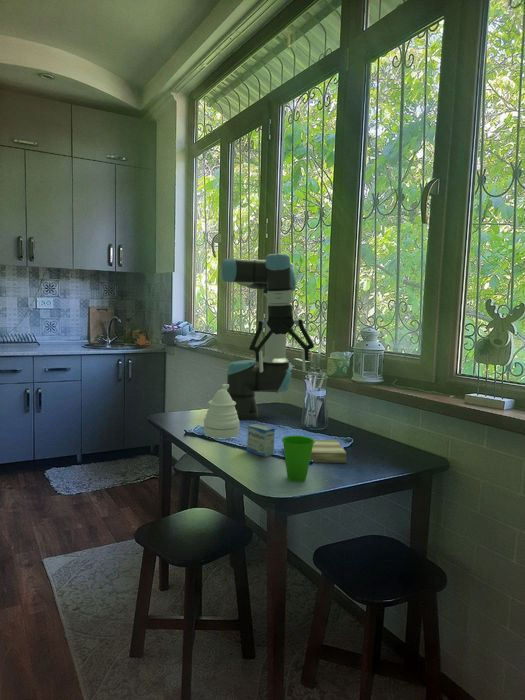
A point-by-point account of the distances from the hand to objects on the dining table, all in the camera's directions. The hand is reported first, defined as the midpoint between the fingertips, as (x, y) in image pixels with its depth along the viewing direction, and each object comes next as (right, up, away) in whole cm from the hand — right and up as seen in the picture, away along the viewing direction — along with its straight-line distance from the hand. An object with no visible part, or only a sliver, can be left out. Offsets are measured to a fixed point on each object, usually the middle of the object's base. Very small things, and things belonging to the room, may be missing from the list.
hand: (282, 371), depth 156 cm
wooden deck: (+10, -27, +1) cm, 29 cm away
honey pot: (-21, -24, +21) cm, 38 cm away
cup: (+3, -29, -20) cm, 36 cm away
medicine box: (-7, -27, +1) cm, 27 cm away
